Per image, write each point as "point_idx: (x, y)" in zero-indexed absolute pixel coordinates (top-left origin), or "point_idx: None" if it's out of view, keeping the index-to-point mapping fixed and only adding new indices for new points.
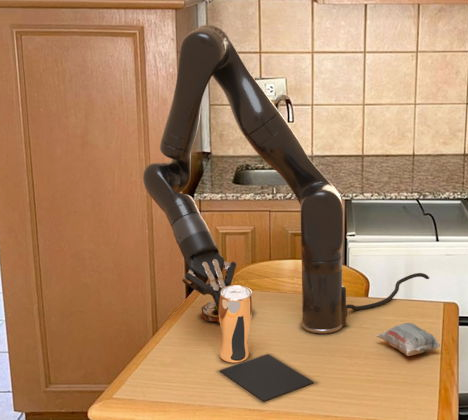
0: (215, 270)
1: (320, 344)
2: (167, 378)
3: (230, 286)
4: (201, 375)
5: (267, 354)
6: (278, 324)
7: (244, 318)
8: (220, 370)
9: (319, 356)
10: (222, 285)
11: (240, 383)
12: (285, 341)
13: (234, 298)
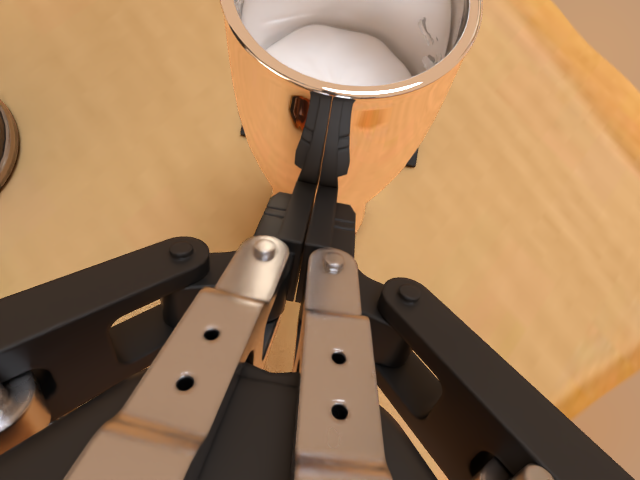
0: (227, 385)
1: (76, 67)
2: (549, 252)
3: (313, 78)
4: (466, 190)
5: (243, 132)
6: (25, 279)
7: (348, 27)
8: (415, 162)
9: (147, 19)
10: (266, 251)
11: None
12: (126, 163)
13: (273, 144)
